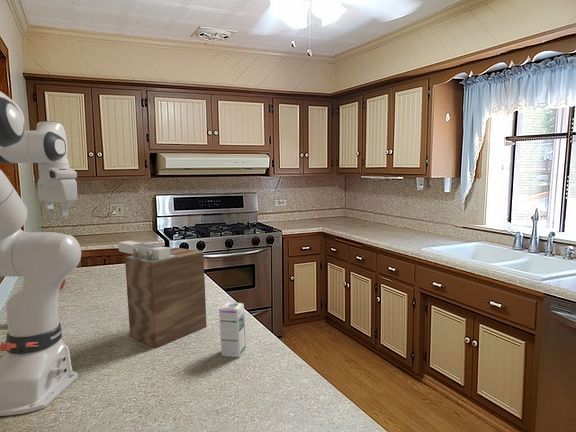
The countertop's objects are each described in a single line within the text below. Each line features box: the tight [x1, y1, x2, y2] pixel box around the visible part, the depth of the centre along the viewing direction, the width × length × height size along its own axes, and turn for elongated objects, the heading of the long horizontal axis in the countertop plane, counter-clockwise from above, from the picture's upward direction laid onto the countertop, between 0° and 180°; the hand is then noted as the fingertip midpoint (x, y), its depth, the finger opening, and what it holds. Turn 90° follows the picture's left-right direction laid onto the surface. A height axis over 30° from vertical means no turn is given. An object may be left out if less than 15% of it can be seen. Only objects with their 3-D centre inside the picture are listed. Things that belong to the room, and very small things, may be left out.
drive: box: [118, 240, 171, 260], centre depth 135 cm, size 22×4×3 cm, turn 53°
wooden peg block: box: [124, 246, 208, 349], centre depth 137 cm, size 14×20×29 cm
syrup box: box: [218, 301, 247, 358], centre depth 122 cm, size 6×6×14 cm
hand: (58, 215), depth 138 cm, fingers open, 8 cm apart
